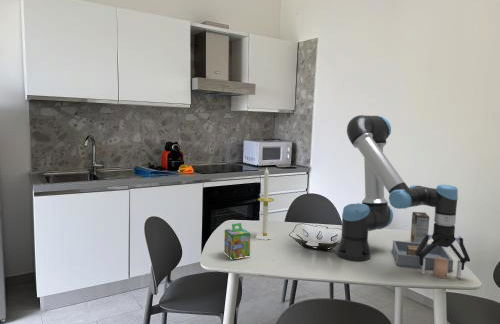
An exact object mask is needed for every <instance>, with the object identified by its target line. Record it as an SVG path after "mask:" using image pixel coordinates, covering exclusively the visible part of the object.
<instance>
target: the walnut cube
mask: <svg viewBox="0 0 500 324" xmlns="http://www.w3.org/2000/svg"><path fill="white" fill-rule="evenodd" d="M417 248H418V246H409V245H407V255H413V256H416V254H415V252H416V250H417Z"/></svg>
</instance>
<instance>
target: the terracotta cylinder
mask: <svg viewBox="0 0 500 324" xmlns="http://www.w3.org/2000/svg"><path fill="white" fill-rule="evenodd" d="M448 261H449V260H448V259H446V258H443V257H435V260H434V270H433V273H432V274H433V276H434V277H436V278H439V279H447V278H448Z"/></svg>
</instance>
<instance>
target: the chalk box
mask: <svg viewBox="0 0 500 324" xmlns="http://www.w3.org/2000/svg"><path fill="white" fill-rule="evenodd" d="M223 248H224V249H223V250H224V251H223V253H224V252H225V253H226V254H227V255H228V256H229V257H231V258H232V259H234V258H239V257H245V256H250V255H251V232H249V231H248V230H247V229H244V228H242V223H241V222H237V223H232V224H231V228H228V229H227V228H226V229H224V245H223ZM229 257H228V258H229ZM250 257H251V256H250Z"/></svg>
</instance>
